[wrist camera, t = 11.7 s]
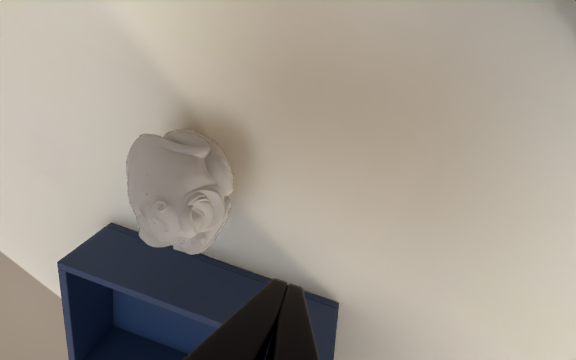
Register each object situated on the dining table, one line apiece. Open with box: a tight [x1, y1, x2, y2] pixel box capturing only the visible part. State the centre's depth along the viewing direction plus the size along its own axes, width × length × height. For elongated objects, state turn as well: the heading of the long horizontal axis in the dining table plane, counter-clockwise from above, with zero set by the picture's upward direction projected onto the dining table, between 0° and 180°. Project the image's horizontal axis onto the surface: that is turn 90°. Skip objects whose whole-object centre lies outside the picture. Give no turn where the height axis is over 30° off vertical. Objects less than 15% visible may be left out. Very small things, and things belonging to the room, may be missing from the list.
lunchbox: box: [57, 223, 339, 360], centre depth 26 cm, size 19×12×5 cm, turn 76°
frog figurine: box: [126, 129, 233, 255], centre depth 19 cm, size 6×7×7 cm
